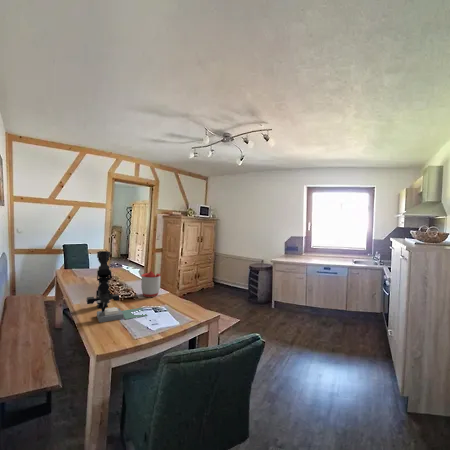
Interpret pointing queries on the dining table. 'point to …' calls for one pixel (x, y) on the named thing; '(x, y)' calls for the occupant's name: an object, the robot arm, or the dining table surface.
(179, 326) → the dining table surface
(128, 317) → the mat
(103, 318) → the plate
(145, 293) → the citrus juicer
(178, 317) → the dining table surface
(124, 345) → the dining table surface
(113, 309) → the tile
